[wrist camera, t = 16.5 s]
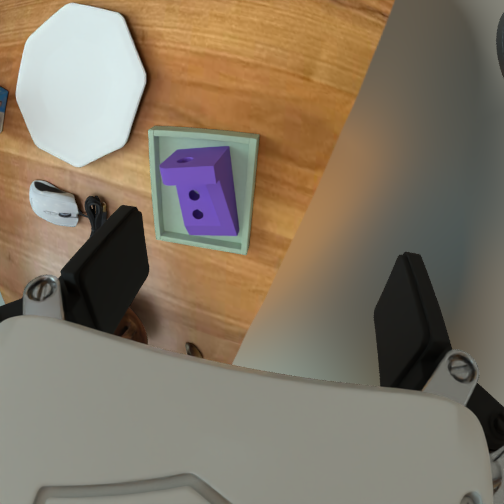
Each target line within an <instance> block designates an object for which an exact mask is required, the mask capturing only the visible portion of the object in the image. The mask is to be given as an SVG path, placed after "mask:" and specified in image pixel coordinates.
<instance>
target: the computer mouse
mask: <svg viewBox="0 0 504 504" xmlns="http://www.w3.org/2000/svg"><path fill="white" fill-rule="evenodd" d="M30 203H31V206H32V209H33V210H34V212H35V213H36V214H37V215H38V216H39V217H41V218H43V219H44V220H46V221H49V222H51V223H53V224H56V225H61V226H70V227H75V226H76V225H77V222H78V219H79V218H78V215H77V214H79V215H82V216H85V217H87V218H89V220H90V223H91V227H92V228H91V230H92V231H91V235H90V237H91V236H92V235H93V234H94V233H95V232H96V231H97V230H98V229H99V228H100V227H101V226H102V224H103V223H104V222H105V221H106V220H107V211H106V204H105V203H104V202H100V199H99V197H98V196H95V197H93V196H89V197H88V198H87V199H86V201H85V210H86V213H87V215H88V216H87V215H84V214H82V212H81V211H80V210H78V207H77V204H76V203H75V198H74V195H73V194H70V193H67V192H64V191H62V190H60V189H58V188H56V187H55V186H53V185H52V184H50V183H48V182H46V181H42V180H35V181H33V182H32V184H31V186H30ZM91 205H93V209H92V207H91ZM95 205H96V214H95Z"/></svg>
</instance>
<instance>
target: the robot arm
mask: <svg viewBox="0 0 504 504" xmlns="http://www.w3.org/2000/svg"><path fill="white" fill-rule="evenodd" d="M60 272H61V276H60V277H59V278H57V277H56V276H53V275H41V276H39V277H36V278H34V279H33V280H32V281H30V282H29V283H28V284H27V286H26V287H25V289H24V293H23V298H22V299H19V300H16V301H14V302H11V303H8V304H5V305H3V306H0V504H504V407H503V406H502V405H501V404H500V403H499V402H498V401H497V400H495V399H494V398H493V397H492V396H491V395H490V394H489V393H488V392H487V391H486V390H485V389H484V388H482V387H481V386H480V385H479V384H478V383H477V382H478V378H479V369H478V366H477V363H476V362H475V360H474V359H473V358H472V357H471V356H470V355H469V354H468V353H466V352H464V351H461V350H452V347H451V344H450V340H449V336H448V333H447V330H446V326H445V323H444V320H443V316H442V313H441V310H440V307H439V304H438V301H437V298H436V296H435V293H434V290H433V287H432V284H431V281H430V279H429V276H428V273H427V270H426V268H425V265H424V262H423V260H422V257H421V255H419V254H415V253H410V252H405V253H404V254H403V255H399V256H398V258H397V260H396V263H395V265H394V267H393V270H392V272H391V274H390V277H389V279H388V281H387V284H386V286H385V288H384V290H383V292H382V295H381V297H380V299H379V301H378V303H377V305H376V308H375V310H374V323H375V332H376V341H377V350H378V361H379V373H380V387H378V386H369V385H360V384H351V383H342V382H334V381H326V380H318V379H311V378H304V377H297V376H291V375H285V374H279V373H273V372H267V371H261V370H255V369H250V368H245V367H240V366H235V365H230V364H225V363H221V362H216V361H211V360H207V359H202V358H198V357H194V356H190V355H185V354H181V353H177V352H173V351H169V350H165V349H161V348H158V347H154V346H150V345H147V344H143V343H139V342H136V341H132V340H129V339H125V338H122V337H119V336H115V335H113V333H114V332H115V330H116V328H117V326H118V325H119V323H120V321H121V320H122V318H123V316H124V314H125V313H126V311H127V309H128V308H129V306H130V304H131V303H132V301H133V299H134V298H135V296H136V294H137V293H138V291H139V289H140V288H141V286H142V285H143V283H144V281H145V280H146V278H147V276H148V274H149V264H148V257H147V250H146V243H145V236H144V228H143V219H142V213H141V212H140V211H138V209H137V207H133V206H126V205H122V206H120V207H119V208H118V209H117V210H116V211H115V212H114V213H113V214H112V215H111V216H110V217H109V218H108V219H107V220H106V221H105V222H104V223H103V224H102V226H101V227H100V228H99V229H98V230H97V231H96V232H95V233H94V234H93V235H92V236H91V237H90V238H89V239H88V240H87V242H86V243H85V244H84V245H83V246H82V247H81V248H80V249H79V250H78V251H77V253H76V254H75V255H74V256H73V257H72V258H71V259H70V261H69V262H68V263H67V264H66V265H65V266H64V267H63V269H62V270H61V271H60Z"/></svg>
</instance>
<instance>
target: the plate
mask: <svg viewBox="0 0 504 504" xmlns="http://www.w3.org/2000/svg"><path fill="white" fill-rule="evenodd" d="M146 84H147V73H146V71H145V68H144V66H143V63H142V61H141V58H140V56H139V53H138V51H137V48H136V46H135V43H134V41H133V38H132V36H131V33H130V30H129V28H128V25H127V23H126V20H125V18H124V17H123V16H122V15H121V14H120V13H118V12H114V11H110V10H105V9H101V8H96V7H92V6H87V5H82V4H76V3H69V4H66V5H65V6H63V7H62V8H61V9H60V10H59V11H57V12H56V13H55V14H54V15H53V16H51V17H50V18H49V19H48V20H47V21H46V22H45V23H44V24H42V25H41V26H40V27H39V28H38V29H37V30H36V31H35V32H34V33H33V34H32V35H31V36H30V37H29V38H28V39H27V41H26V43H25V47H24V51H23V56H22V60H21V65H20V70H19V76H18V82H17V88H16V100H17V103H18V105H19V108H20V110H21V113H22V115H23V118H24V120H25V123H26V125H27V127H28V130H29V132H30V134H31V137H32V139H33V141H34V143H35V144H36V146H37V147H38V148H40V149H42V150H44V151H46V152H48V153H50V154H52V155H54V156H55V157H57V158H59V159H61V160H63V161H65V162H67V163H69V164H71V165H73V166H75V167H83V166H85V165H87V164H88V163H90V162H92V161H95V160H97V159H99V158H101V157H103V156H105V155H107V154H109V153H111V152H113V151H115V150H118V149H120V148H122V147H123V146H124V145H125V144H126V142H127V141H128V138H129V134H130V131H131V128H132V125H133V122H134V118H135V115H136V112H137V109H138V106H139V103H140V100H141V98H142V95H143V92H144V89H145V86H146Z"/></svg>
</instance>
